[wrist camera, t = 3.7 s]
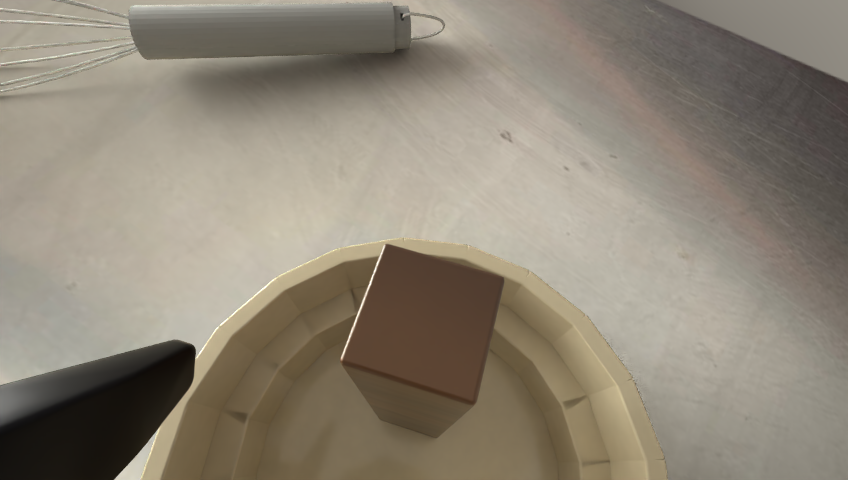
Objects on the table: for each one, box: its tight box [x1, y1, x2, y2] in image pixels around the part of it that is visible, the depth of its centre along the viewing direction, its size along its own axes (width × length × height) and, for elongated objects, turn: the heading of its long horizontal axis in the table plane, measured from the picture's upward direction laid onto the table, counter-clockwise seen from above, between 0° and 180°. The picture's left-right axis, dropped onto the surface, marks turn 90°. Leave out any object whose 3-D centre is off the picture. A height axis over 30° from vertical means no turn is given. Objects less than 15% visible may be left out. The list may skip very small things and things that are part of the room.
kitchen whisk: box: [0, 0, 445, 93], centre depth 23 cm, size 6×34×6 cm, turn 99°
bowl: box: [141, 238, 668, 480], centre depth 14 cm, size 14×14×6 cm
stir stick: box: [340, 244, 505, 438], centre depth 13 cm, size 2×2×11 cm
